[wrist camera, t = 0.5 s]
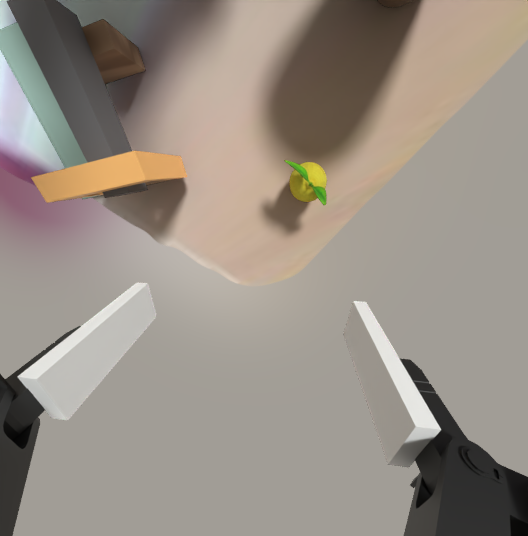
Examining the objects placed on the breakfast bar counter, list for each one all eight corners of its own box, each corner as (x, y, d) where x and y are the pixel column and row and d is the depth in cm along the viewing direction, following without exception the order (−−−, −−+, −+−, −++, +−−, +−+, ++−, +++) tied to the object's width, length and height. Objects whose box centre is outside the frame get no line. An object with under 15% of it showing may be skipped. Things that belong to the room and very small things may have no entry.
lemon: (284, 161, 33) (284, 159, 24) (321, 155, 32) (335, 149, 23) (288, 203, 36) (289, 215, 27) (322, 199, 35) (335, 209, 26)
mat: (-4, 35, 29) (-9, 33, 29) (34, 19, 28) (29, 16, 27) (85, 198, 39) (82, 199, 38) (116, 191, 38) (113, 192, 37)
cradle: (79, 68, 30) (34, 46, 25) (137, 47, 28) (103, 18, 23) (132, 188, 37) (106, 191, 32) (181, 177, 35) (162, 178, 30)
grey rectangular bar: (48, 26, 24) (6, 1, 20) (76, 15, 23) (38, -13, 19) (125, 194, 32) (105, 197, 28) (147, 189, 31) (129, 192, 27)
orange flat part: (103, 175, 34) (31, 177, 24) (180, 156, 32) (134, 150, 22) (112, 193, 35) (46, 202, 26) (187, 176, 33) (146, 179, 23)
